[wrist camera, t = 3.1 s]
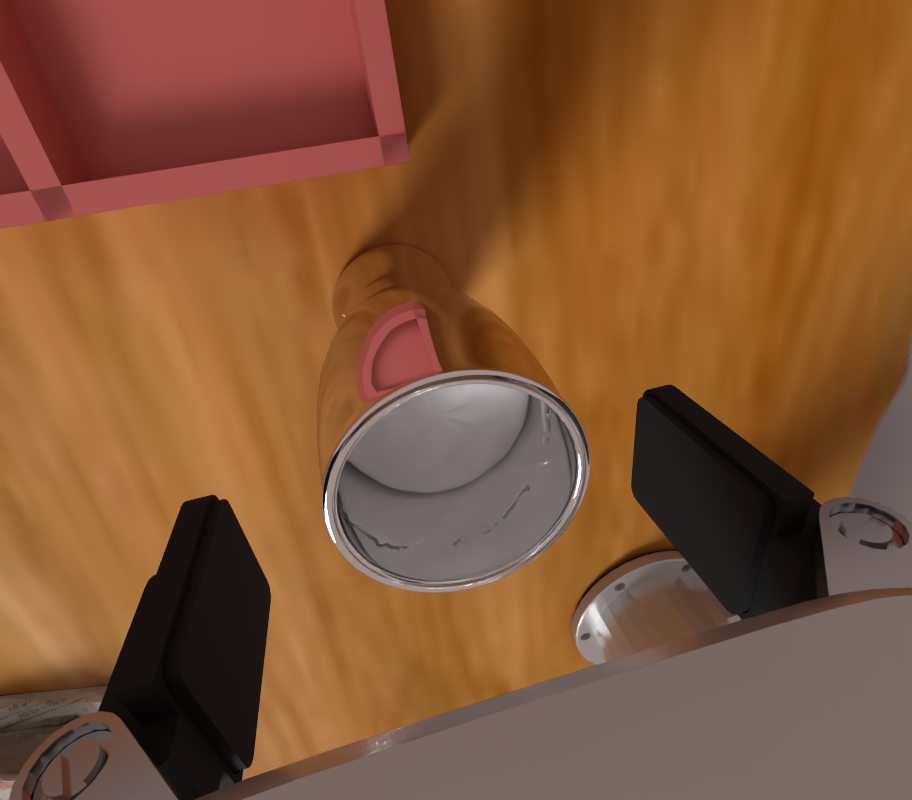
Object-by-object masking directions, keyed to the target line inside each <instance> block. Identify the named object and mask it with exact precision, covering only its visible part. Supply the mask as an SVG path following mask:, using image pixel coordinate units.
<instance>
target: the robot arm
mask: <svg viewBox="0 0 912 800" xmlns="http://www.w3.org/2000/svg"><path fill="white" fill-rule="evenodd" d="M631 488H632V492H633V495H634V497H635V499H636V500H637V501H638V503H639V504H640V505H641V506H642V508H643V509H644V510H645V511H646V512H647V514H648V515H649V516H650V517H651V519H652V520H653V521H654V522H655V523H656V525H657V526H658V527H659V528H660V530H661V531H662V532H663V533H664V534H665V536H666V537H667V538H668V539H669V541H670V542H671V543H672V544H673V545H674V547H675V548H676V549H677V550H678V551H664V552H656V553H652V554H648V555H645V556H641V557H639V558H636V559H634V560H631V561H629V562H627V563H625V564H623V565H621V566H619V567H618V568H616V569H614V570H613V571H611V572H610V573H608V574H607V575H606V576H604V577H603V578H602V579H600V580H599V581H598V582H597V583H596V584H595V585H594V586H593V587H592V588H591V589H590V590H589V591H588V593H587V594H586V595H585V596H584V598H583V599H582V600H581V602H580V604H579V606H578V608H577V610H576V611H575V614H574V618H573V621H572V635H573V639H574V642H575V644H576V646H577V648H578V650H579V652H580V653H581V655H582V656H583V657H584V658H585V659H586V660H588V661H590V662H591V663H593V664H596V665H595V666H592V667H589V668H586V669H583V670H579V671H576V672H573V673H570V674H567V675H564V676H560V677H557V678H554V679H551V680H548V681H545V682H541V683H538V684H535V685H532V686H529V687H526V688H523V689H519V690H516V691H513V692H510V693H507V694H504V695H500V696H497V697H494V698H491V699H488V700H485V701H482V702H478V703H475V704H472V705H469V706H466V707H463V708H460V709H457V710H454V711H450V712H447V713H444V714H441V715H438V716H435V717H432V718H429V719H426V720H422V721H419V722H416V723H413V724H410V725H407V726H404V727H401V728H398V729H395V730H391V731H388V732H385V733H382V734H379V735H376V736H373V737H370V738H367V739H364V740H360V741H357V742H354V743H351V744H348V745H345V746H342V747H339V748H336V749H333V750H330V751H327V752H324V753H321V754H318V755H315V756H312V757H309V758H306V759H304V760H301V761H298V762H295V763H292V764H289V765H286V766H283V767H280V768H277V769H274V770H271V771H268V772H265V773H262V774H260V775H257V776H254V777H251V778H248V779H245V780H243V781H242V775H243V769H246V768H249V767H250V766H251V764H252V761H253V756H254V747H255V738H256V729H257V720H258V711H259V702H260V693H261V684H262V675H263V666H264V657H265V647H266V638H267V629H268V620H269V611H270V602H271V593H270V587H269V584H268V581H267V579H266V577H265V575H264V573H263V571H262V569H261V567H260V565H259V563H258V561H257V559H256V557H255V555H254V553H253V551H252V549H251V547H250V545H249V542H248V540H247V538H246V536H245V534H244V532H243V530H242V528H241V526H240V524H239V522H238V520H237V518H236V516H235V514H234V512H233V510H232V508H231V506H230V504H229V502H228V501H227V500H226V499H223V500H219V499H218V498H217V497H216V496H215V495H210V496H206V497H202V498H197V499H193V500H189V501H186V502H184V503H183V504H182V506H181V509H180V511H179V514H178V517H177V520H176V522H175V525H174V528H173V530H172V533H171V536H170V539H169V541H168V544H167V547H166V549H165V552H164V555H163V558H162V560H161V563H160V566H159V569H158V571H157V574H156V575H154V576H153V577H151V578H150V579H149V581H148V583H147V584H146V586H145V589H144V592H143V594H142V597H141V599H140V602H139V605H138V607H137V610H136V613H135V615H134V618H133V620H132V623H131V626H130V628H129V631H128V634H127V636H126V639H125V641H124V644H123V647H122V649H121V652H120V655H119V657H118V660H117V662H116V665H115V668H114V670H113V673H112V676H111V678H110V681H109V683H108V686H107V689H106V691H105V694H104V697H103V699H102V702H101V704H100V707H99V710H98V712H94V713H90V714H85V715H83V716H81V717H79V718H77V719H75V720H73V721H70V722H69V723H67V724H66V725H64V726H63V727H61V728H60V729H59V730H57V731H56V732H54V733H53V734H52V735H51V736H50V737H48V738H47V739H46V740H45V741H44V742H43V743H42V744H41V745H40V746H39V747H38V748H37V749H36V750H35V751H34V753H33V754H32V755H31V756H30V758H29V759H28V760H27V762H26V763H25V764H24V765H23V767H22V768H21V770H20V772H19V774H18V776H17V778H16V780H15V782H14V783H13V786H12V789H11V793H10V797H9V800H912V523H911V522H910V521H909V520H908V519H907V518H906V517H904V516H903V515H901V514H900V513H898V512H896V511H895V510H893V509H891V508H889V507H887V506H884V505H882V504H880V503H877V502H873V501H870V500H866V499H861V498H852V497H842V498H834V499H832V500H829V501H826V502H825V503H824V504H823V505H821V504H819V503H818V502H817V501H816V500H814V499H813V496H814V492H812V491H811V490H810V489H808V488H807V487H806V486H804V485H803V484H802V483H801V482H799V481H798V480H797V479H795V478H794V477H793V476H791V475H790V474H789V473H787V472H786V471H785V470H783V469H782V468H781V467H780V466H778V465H777V464H776V463H774V462H773V461H772V460H770V459H769V458H768V457H766V456H765V455H764V454H763V453H761V452H760V451H759V450H757V449H756V448H755V447H753V446H752V445H751V444H749V443H748V442H747V441H745V440H744V439H743V438H742V437H740V436H739V435H738V434H736V433H735V432H734V431H732V430H731V429H730V428H728V427H727V426H726V425H724V424H723V423H722V422H721V421H719V420H718V419H717V418H715V417H714V416H713V415H711V414H710V413H709V412H707V411H706V410H705V409H704V408H702V407H701V406H700V405H698V404H697V403H696V402H694V401H693V400H692V399H690V398H689V397H688V396H686V395H685V394H684V393H683V392H681V391H680V390H679V389H677V388H676V387H675V386H673V385H665V386H661V387H657V388H653V389H649V390H646V391H645V392H644V394H643V397H642V398H640V399H639V400H638V403H637V414H636V427H635V441H634V455H633V468H632V482H631Z"/></svg>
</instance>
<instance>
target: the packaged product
mask: <svg viewBox="0 0 912 800" xmlns="http://www.w3.org/2000/svg"><path fill="white" fill-rule="evenodd" d="M107 686H108V685H106V686H96V687H86V688H76V689H66V690H57V691H45V692H34V693H24V694H15V695H7V696H0V800H9V797H10V793H11V789H12V786H13V783H14V782H15V780H16V778H17V776H18V774H19V772H20V770H21V768H22V767H23V765H24V764H25V763H26V762H27V760H28V759H29V758H30V756H31V755H32V754H33V753H34V751H35V750H36V749H37V748H38V747H39V746H40V745H41V744H42V743H43V742H44V741H45V740H46V739H47V738H48V737H50V736H51V735H52V734H53V733H54V732H56V731H57V730H59V729H60V728H61V727H63V726H64V725H66V724H67V723H69V722H70V721H73V720H75V719H77V718H79V717H81V716H83V715H85V714H90V713H94V712H98V710H99V707H100V704H101V702H102V699H103V697H104V694H105V691H106V689H107Z"/></svg>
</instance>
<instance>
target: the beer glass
mask: <svg viewBox="0 0 912 800" xmlns="http://www.w3.org/2000/svg"><path fill="white" fill-rule="evenodd" d="M333 314H334V319H335V322H336V326H337V328H338V330H337V332H336V334H335V336H334V338H333V340H332V342H331V345H330V347H329V350H328V353H327V356H326V358H325V361H324V364H323V367H322V371H321V376H320V383H319V390H318V398H317V410H316V412H317V448H318V459H319V469H320V477H321V486H322V490H321V508H322V515H323V520H324V523H325V526H326V529H327V532H328V534H329V536H330V538H331V540H332V542H333V544H334V545H335V547H336V548H337V550H338V551H339V553H340V554H341V555H342V556H343V557H344V558H345V559H346V560H347V561H348V562H349V563H350V564H351V565H352V566H353V567H354V568H356V569H357V570H358V571H360V572H361V573H363V574H364V575H366V576H368V577H370V578H371V579H373V580H375V581H378V582H380V583H382V584H385V585H388V586H391V587H394V588H398V589H402V590H407V591H413V592H423V593H444V592H454V591H461V590H466V589H471V588H475V587H479V586H482V585H485V584H488V583H491V582H494V581H497V580H499V579H501V578H504V577H506V576H508V575H510V574H512V573H514V572H516V571H518V570H519V569H521V568H523V567H524V566H526V565H528V564H529V563H530V562H532V561H533V560H535V559H536V558H537V557H539V556H540V555H541V554H542V553H544V552H545V551H546V550H547V549H548V548H549V547H550V546H551V545H552V544H553V543H554V542H555V541H556V540H557V539H558V538H559V537H560V536H561V535H562V534H563V532H564V531H565V530H566V529H567V527H568V526H569V524H570V523H571V522H572V520H573V518H574V517H575V515H576V513H577V511H578V509H579V507H580V505H581V503H582V501H583V498H584V495H585V492H586V489H587V485H588V481H589V475H590V450H589V445H588V440H587V437H586V434H585V431H584V429H583V427H582V424H581V422H580V420H579V419H578V417H577V416H576V414H575V413H574V411H573V410H572V409H571V407H570V406H569V405H568V404H567V403H566V402H565V401H564V400H563V398H562V397H561V395H560V393H559V392H558V390H557V388H556V387H555V385H554V384H553V382H552V380H551V379H550V378H549V376H548V375H547V373H546V372H545V370H544V369H543V367H542V366H541V364H540V363H539V361H538V360H537V358H536V357H535V356H534V355H533V353H532V352H531V351H530V350H529V348H528V347H527V346H526V345H525V343H524V342H523V341H522V340H521V338H520V337H519V336H518V335H517V334H516V333H515V332H514V331H513V330H512V329H511V328H510V327H509V326H508V325H507V324H506V323H505V322H504V321H503V320H502V319H501V318H500V317H499V316H497V315H496V314H495V313H494V312H493V311H491V310H490V309H489V308H487V307H486V306H484V305H483V304H481V303H479V302H478V301H476V300H474V299H473V298H471V297H469V296H468V295H466V294H464V293H462V292H459V291H457V290H455V289H454V287H453V284H452V281H451V279H450V277H449V275H448V273H447V272H446V270H445V269H444V268H443V266H442V265H441V264H440V263H439V262H438V261H437V260H436V259H435V258H433V257H432V256H431V255H429V254H428V253H426V252H424V251H422V250H420V249H418V248H415V247H411V246H407V245H400V244H390V245H383V246H378V247H375V248H372V249H370V250H368V251H366V252H364V253H362V254H360V255H359V256H358V257H356V258H355V259H354V260H353V261H352V262H351V263H350V264H349V265H348V266H347V267H346V268H345V269H344V271H343V272H342V274H341V276H340V277H339V279H338V281H337V284H336V287H335V290H334V295H333Z"/></svg>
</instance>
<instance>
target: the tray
mask: <svg viewBox="0 0 912 800" xmlns="http://www.w3.org/2000/svg"><path fill="white" fill-rule="evenodd" d="M405 162H410V156H409V149H408V143H407V137H406V131H405V125H404V118H403V112H402V106H401V100H400V94H399V87H398V81H397V75H396V69H395V63H394V57H393V50H392V44H391V38H390V32H389V26H388V19H387V13H386V7H385V1H384V0H0V229H1V228H7V227H13V226H20V225H26V224H32V223H38V222H44V221H50V220H56V219H62V218H69V217H75V216H81V215H87V214H93V213H99V212H105V211H111V210H118V209H124V208H130V207H136V206H142V205H148V204H154V203H160V202H166V201H173V200H179V199H185V198H191V197H197V196H203V195H209V194H215V193H222V192H228V191H234V190H240V189H246V188H252V187H258V186H264V185H271V184H277V183H283V182H289V181H295V180H301V179H307V178H313V177H320V176H326V175H332V174H338V173H344V172H350V171H356V170H362V169H369V168H375V167H381V166H387V165H393V164H399V163H405Z"/></svg>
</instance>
